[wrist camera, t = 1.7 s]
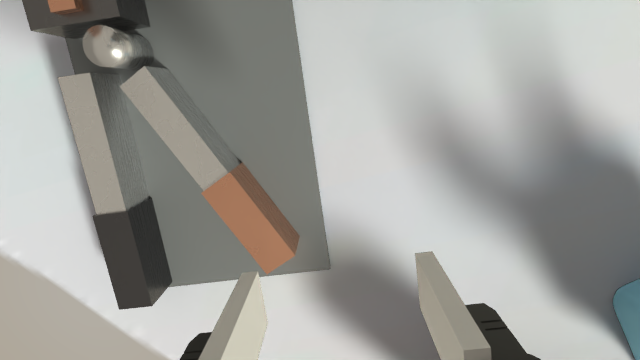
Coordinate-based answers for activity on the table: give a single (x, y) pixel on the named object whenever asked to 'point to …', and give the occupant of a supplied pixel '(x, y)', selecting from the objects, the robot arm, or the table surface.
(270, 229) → the tongs arm
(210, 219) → the mat
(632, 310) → the vase
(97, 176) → the tongs fixed
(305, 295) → the table surface
